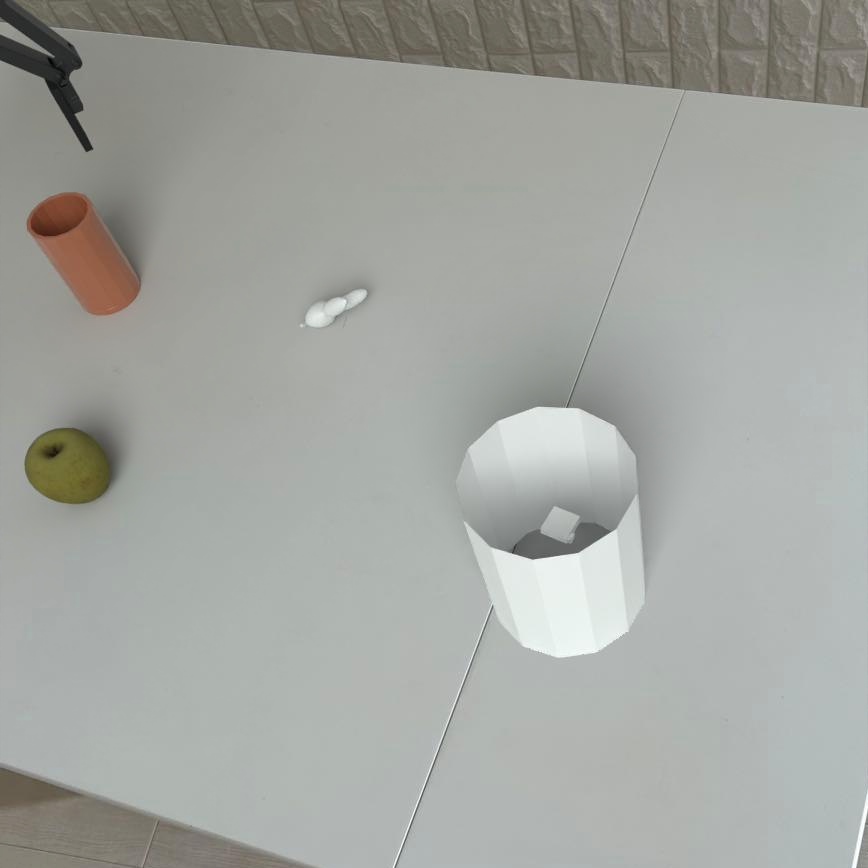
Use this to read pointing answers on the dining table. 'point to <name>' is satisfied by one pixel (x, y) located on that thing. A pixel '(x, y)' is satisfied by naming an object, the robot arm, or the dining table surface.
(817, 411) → the dining table surface
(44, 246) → the cup
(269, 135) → the dining table surface
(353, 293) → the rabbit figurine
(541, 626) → the container
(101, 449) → the apple
